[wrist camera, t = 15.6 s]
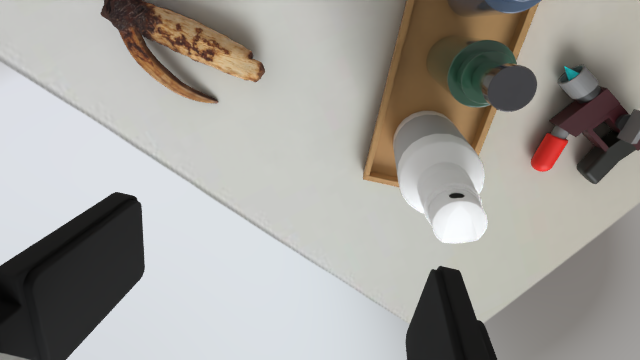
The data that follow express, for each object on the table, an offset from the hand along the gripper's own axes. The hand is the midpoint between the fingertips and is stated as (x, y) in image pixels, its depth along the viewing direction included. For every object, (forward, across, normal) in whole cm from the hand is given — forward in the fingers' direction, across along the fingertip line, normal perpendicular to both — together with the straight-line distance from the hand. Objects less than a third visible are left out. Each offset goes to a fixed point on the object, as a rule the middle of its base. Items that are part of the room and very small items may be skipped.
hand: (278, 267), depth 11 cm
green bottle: (+30, -9, -6) cm, 32 cm away
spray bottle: (+30, -9, +3) cm, 31 cm away
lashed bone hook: (+31, +18, -1) cm, 35 cm away
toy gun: (+31, -23, -1) cm, 38 cm away
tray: (+30, -9, -4) cm, 32 cm away
